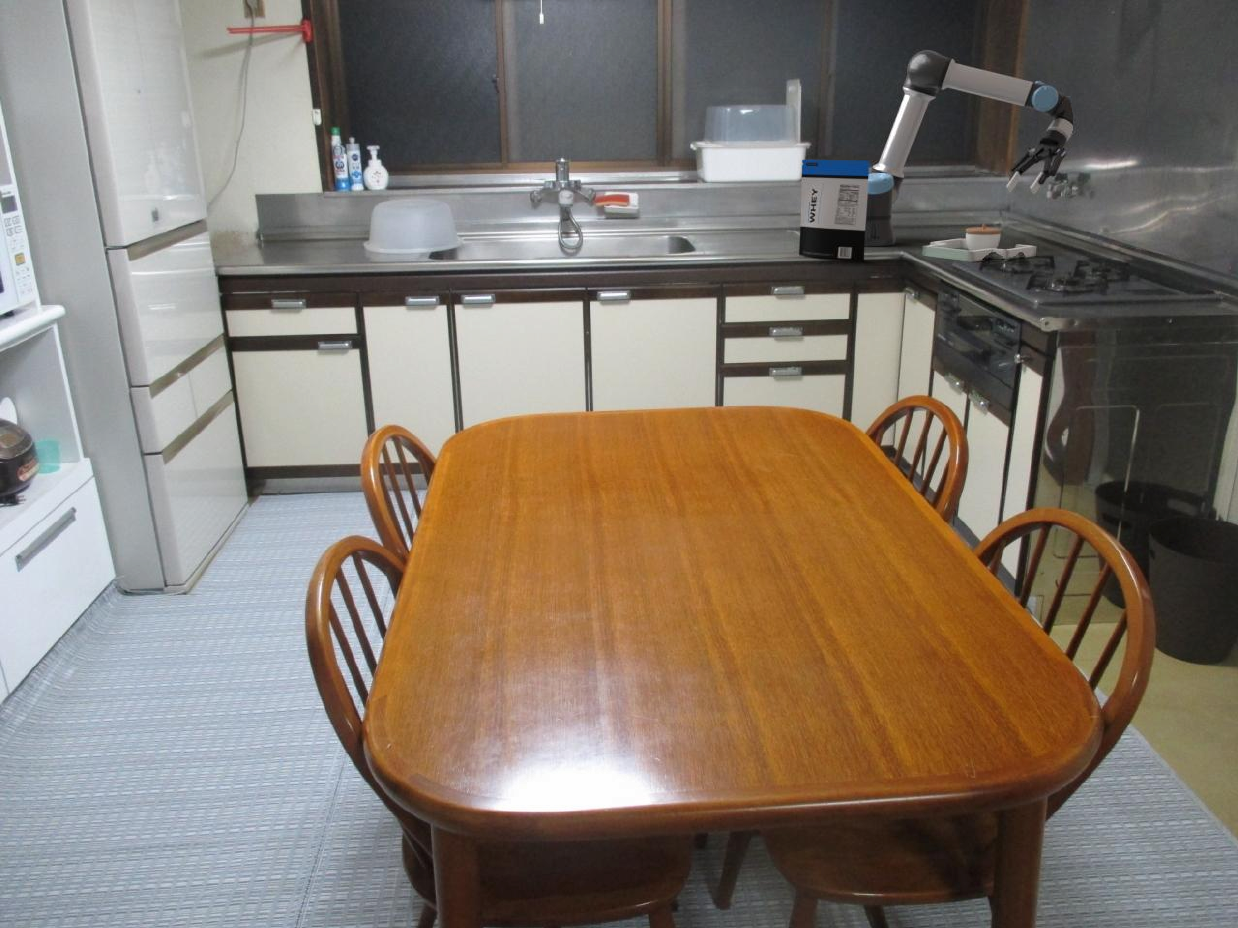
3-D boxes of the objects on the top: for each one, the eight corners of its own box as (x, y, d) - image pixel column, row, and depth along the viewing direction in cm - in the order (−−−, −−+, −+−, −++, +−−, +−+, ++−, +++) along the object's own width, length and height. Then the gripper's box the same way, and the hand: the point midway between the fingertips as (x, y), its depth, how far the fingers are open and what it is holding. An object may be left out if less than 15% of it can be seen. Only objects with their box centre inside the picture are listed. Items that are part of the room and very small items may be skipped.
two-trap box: (909, 254, 330) (910, 244, 329) (959, 247, 343) (960, 238, 342) (984, 263, 307) (985, 253, 306) (1035, 256, 320) (1036, 246, 319)
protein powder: (855, 262, 316) (860, 161, 306) (790, 256, 332) (793, 160, 322) (871, 259, 322) (877, 160, 312) (807, 253, 338) (810, 159, 329)
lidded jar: (994, 251, 332) (997, 222, 329) (1002, 256, 322) (1005, 225, 319) (960, 251, 333) (963, 222, 330) (967, 256, 323) (970, 226, 320)
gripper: (1089, 145, 327) (1053, 200, 324) (1032, 144, 344) (997, 196, 341) (1081, 128, 323) (1044, 183, 320) (1024, 128, 339) (988, 181, 336)
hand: (1020, 190), depth 330 cm, fingers open, 8 cm apart
